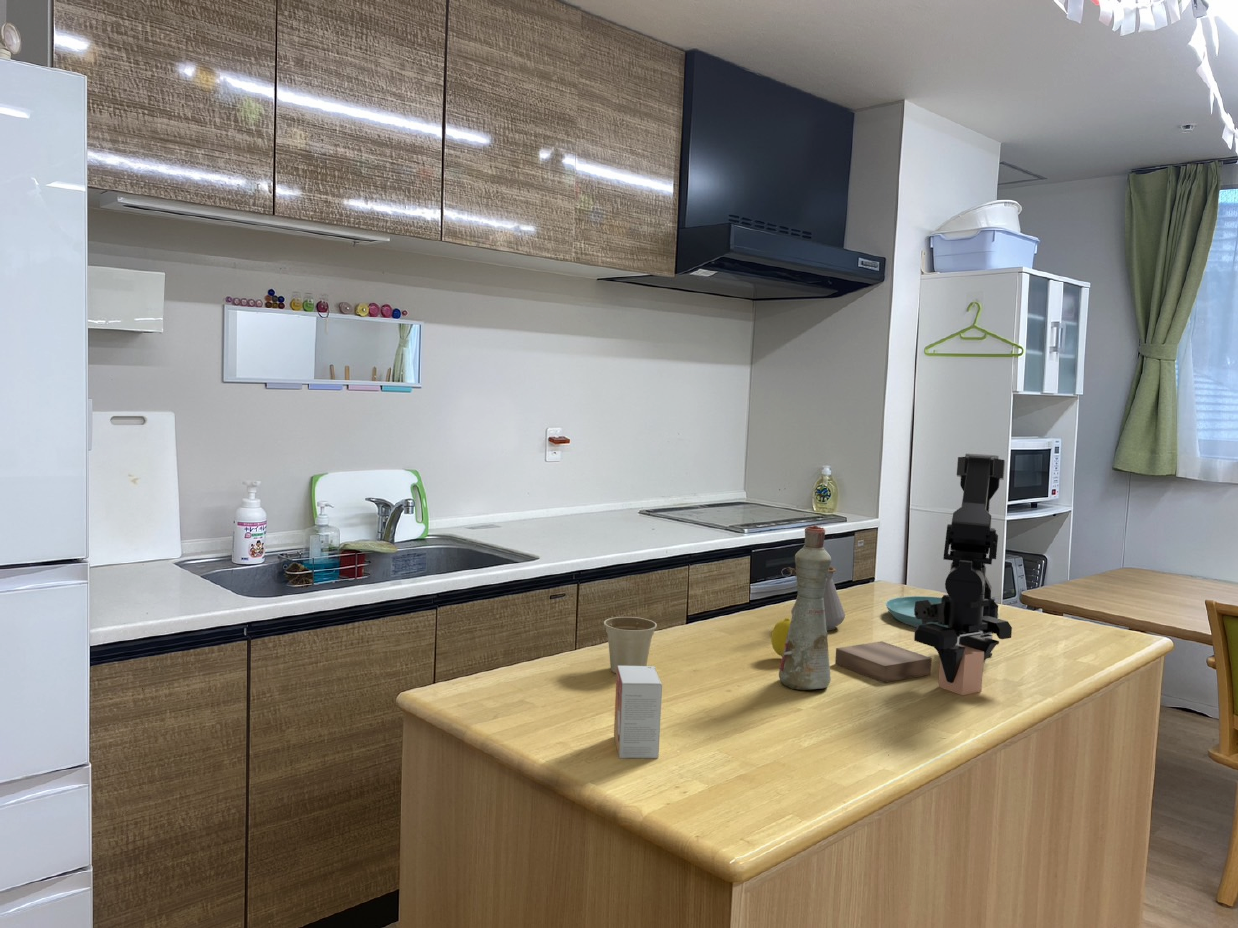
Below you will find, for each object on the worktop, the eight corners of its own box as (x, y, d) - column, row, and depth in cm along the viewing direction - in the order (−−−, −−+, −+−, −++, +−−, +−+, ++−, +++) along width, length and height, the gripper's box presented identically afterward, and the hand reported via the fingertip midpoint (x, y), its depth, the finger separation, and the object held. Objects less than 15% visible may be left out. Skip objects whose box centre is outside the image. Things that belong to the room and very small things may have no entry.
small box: (613, 736, 130) (616, 664, 129) (652, 736, 130) (655, 664, 129) (618, 759, 122) (621, 682, 121) (659, 759, 122) (662, 683, 121)
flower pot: (666, 672, 161) (668, 624, 160) (630, 683, 154) (632, 633, 153) (626, 659, 167) (628, 613, 166) (590, 670, 160) (592, 622, 159)
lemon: (800, 665, 168) (802, 622, 167) (769, 662, 169) (772, 620, 168) (800, 656, 173) (802, 615, 173) (770, 654, 174) (773, 613, 174)
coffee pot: (806, 616, 205) (809, 551, 204) (853, 626, 198) (857, 558, 197) (757, 633, 189) (761, 563, 188) (807, 645, 182) (811, 571, 180)
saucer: (878, 606, 220) (879, 592, 220) (982, 613, 217) (983, 599, 216) (894, 631, 196) (895, 616, 196) (1011, 640, 193) (1012, 624, 192)
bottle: (799, 696, 150) (808, 529, 148) (768, 679, 159) (776, 521, 156) (841, 690, 154) (850, 527, 152) (808, 674, 162) (817, 519, 160)
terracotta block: (957, 682, 161) (960, 644, 160) (981, 691, 157) (984, 651, 156) (938, 686, 158) (941, 647, 158) (962, 695, 154) (965, 654, 153)
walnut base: (880, 656, 176) (881, 641, 175) (930, 674, 165) (931, 658, 165) (835, 663, 169) (836, 648, 169) (883, 682, 159) (884, 666, 159)
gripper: (963, 578, 168) (957, 661, 169) (892, 586, 158) (886, 673, 159) (1016, 591, 158) (1010, 678, 159) (944, 600, 149) (938, 692, 150)
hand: (960, 680), depth 157 cm, fingers closed on terracotta block, 5 cm apart
